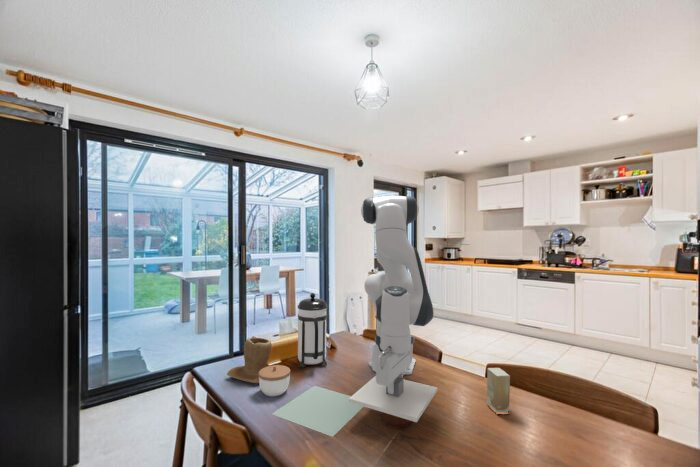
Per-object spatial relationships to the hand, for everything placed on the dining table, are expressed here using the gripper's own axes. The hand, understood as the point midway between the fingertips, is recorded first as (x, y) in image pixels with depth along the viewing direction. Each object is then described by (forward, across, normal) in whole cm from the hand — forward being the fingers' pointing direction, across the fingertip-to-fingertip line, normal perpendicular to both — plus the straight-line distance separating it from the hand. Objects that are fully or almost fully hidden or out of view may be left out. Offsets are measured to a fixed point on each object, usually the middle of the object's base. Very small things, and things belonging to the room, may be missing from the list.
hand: (395, 389), depth 96 cm
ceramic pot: (+10, -1, -1) cm, 10 cm away
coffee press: (+9, +22, +46) cm, 52 cm away
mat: (+9, -6, +22) cm, 25 cm away
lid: (+2, 0, 0) cm, 2 cm away
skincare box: (+9, +22, -26) cm, 35 cm away
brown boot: (+9, -1, +58) cm, 59 cm away
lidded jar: (+9, -6, +42) cm, 43 cm away
